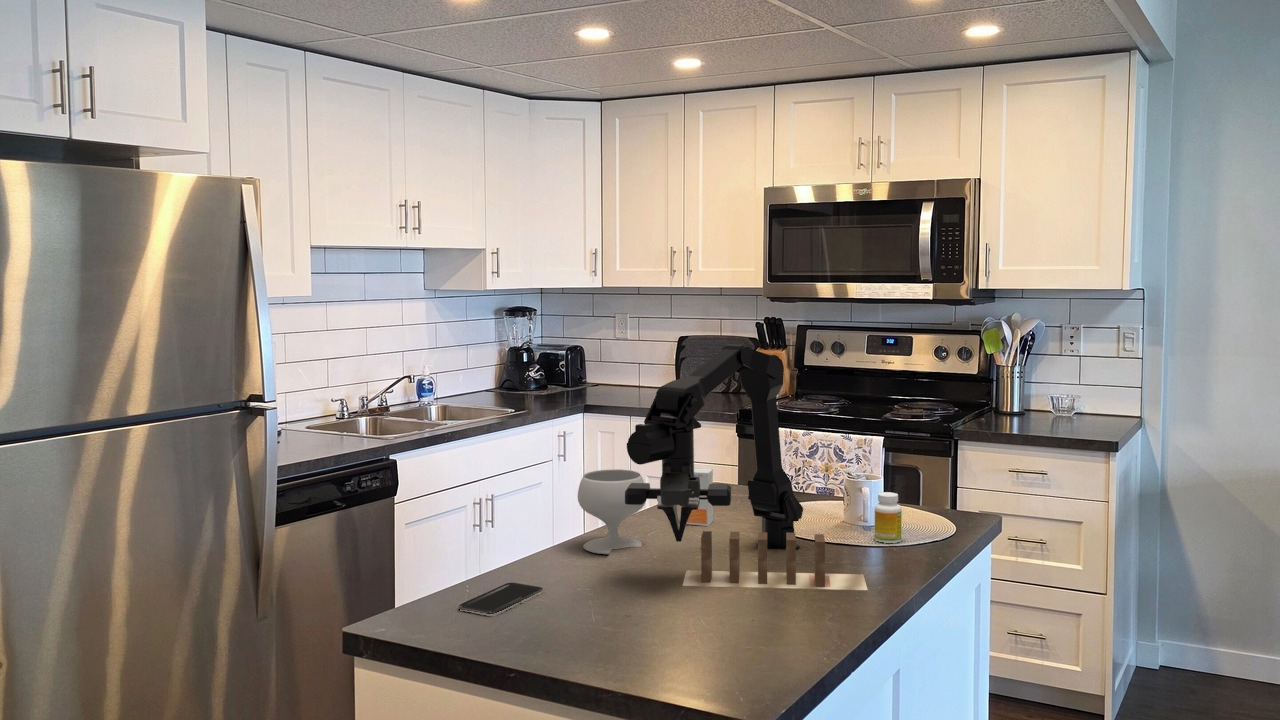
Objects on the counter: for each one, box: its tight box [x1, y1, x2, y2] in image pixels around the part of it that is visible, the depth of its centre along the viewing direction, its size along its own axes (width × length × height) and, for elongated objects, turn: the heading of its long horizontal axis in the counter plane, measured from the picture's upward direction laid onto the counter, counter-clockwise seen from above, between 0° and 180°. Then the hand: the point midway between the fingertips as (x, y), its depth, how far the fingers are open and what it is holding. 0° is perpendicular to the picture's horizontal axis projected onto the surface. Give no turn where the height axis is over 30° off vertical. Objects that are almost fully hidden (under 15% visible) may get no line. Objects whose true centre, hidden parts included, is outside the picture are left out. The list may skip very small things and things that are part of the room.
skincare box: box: [686, 467, 714, 527], centre depth 232 cm, size 6×4×12 cm
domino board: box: [682, 569, 869, 591], centre depth 188 cm, size 32×9×1 cm, turn 83°
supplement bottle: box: [873, 491, 903, 544], centre depth 216 cm, size 5×5×10 cm
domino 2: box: [728, 531, 741, 583], centre depth 188 cm, size 2×5×8 cm, turn 172°
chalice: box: [577, 468, 647, 555], centre depth 213 cm, size 14×14×15 cm
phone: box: [458, 582, 544, 614], centre depth 182 cm, size 8×1×15 cm
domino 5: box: [814, 533, 826, 587], centre depth 186 cm, size 2×5×8 cm, turn 173°
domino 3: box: [757, 531, 768, 584], centre depth 188 cm, size 2×5×8 cm, turn 173°
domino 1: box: [700, 530, 713, 583], centre depth 189 cm, size 2×5×8 cm, turn 173°
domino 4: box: [785, 532, 797, 585], centre depth 187 cm, size 2×5×8 cm, turn 173°
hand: (679, 541), depth 189 cm, fingers closed
